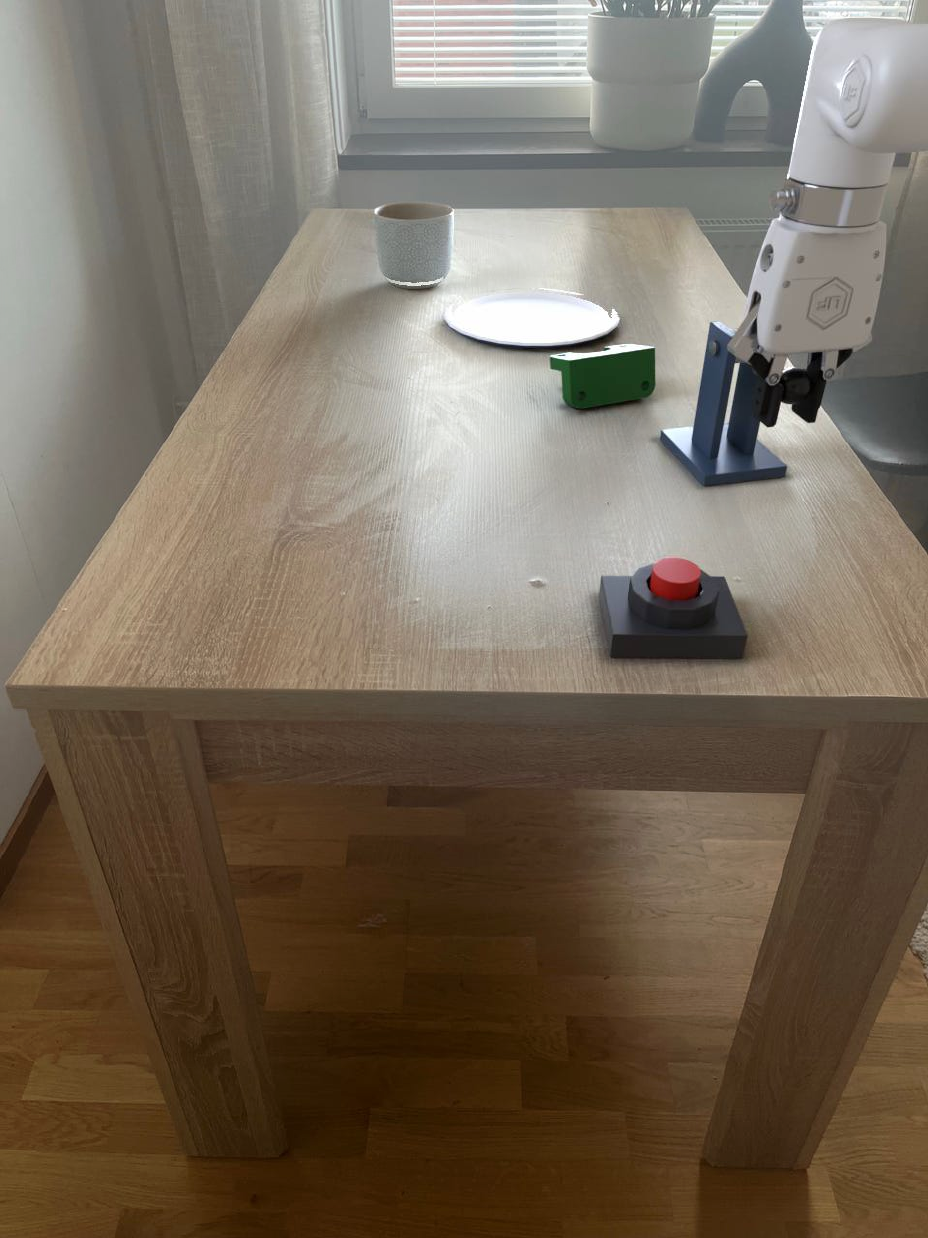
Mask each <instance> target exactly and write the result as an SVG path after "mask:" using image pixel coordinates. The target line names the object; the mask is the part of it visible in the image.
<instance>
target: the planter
mask: <svg viewBox="0 0 928 1238" xmlns="http://www.w3.org/2000/svg"><path fill="white" fill-rule="evenodd" d="M372 224H373V233H374V240H375V241H374V243H375V248H376V255H377V261H378V266H379V270H380V272H381V274H382V276H383V275H384V276H385V277H387V278H389V279H391V280H395V281H400V282H411V283H417V282H418V283H419V282H429V281H435V280H437V279H440V278H442V277H444V276H446V275H447V276H448V274H449V272H450V269H451V265H452V256H453V243H454V229H455V228H454V227H455V210H454V209H453V208H452V207H451V206H449V205H446V204H442V203H437V202H432V201H431V202H430V201H399V202H392V203H387V204H383V205H380V206H377V207H375V208H374V209H373V210H372ZM384 276H383V277H384ZM447 276H446V277H447ZM385 277H384V278H385ZM441 282H442V281H440V282H438V283H434V284H430V285H421V286H407V285H399V284H395V283H391V282H389V283H390V284H391V285H393V286H395V287H398V288H400V289H406V290H422V289H423V290H424V289H428V288H429V289H430V288H433V287H435V286H437V285H438V284H440V283H441Z"/></svg>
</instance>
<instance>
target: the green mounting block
mask: <svg viewBox="0 0 928 1238" xmlns="http://www.w3.org/2000/svg"><path fill="white" fill-rule="evenodd" d="M549 367H550V370H554V371H558V372H561V389H562V390H561V391H562V400H563V402H564V404H565V405H567V406H569V407H572V408H575V409H581V410H582V409H587V408H593V407H600V406H605V405H611V404H616V403H617V404H618V403H621V402H628V401H634V400H639V399H646V398H648V397H650V396H651V395H653V393H654V391H655V389H656V347H655V346H649V345H641V344H635V343H634V344H633V343H627V344H616V345H609V346H604V347H603V351H596V352H583V353H581V352H580V353H579V352H571V351H570V352H563V353H557V354H551V355H550V356H549Z"/></svg>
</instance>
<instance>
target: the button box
mask: <svg viewBox="0 0 928 1238" xmlns="http://www.w3.org/2000/svg"><path fill="white" fill-rule="evenodd" d="M654 564H655V562H652V563H650V564H647V565H644V566H640V567H638V568H637V569H636V571H635V572H634V573H633V575H604V574H603V575H601V576H600V581H599V582H600V583H599V592H598V600H599V605H600V610H601V616H602V622H603V625H604V626H603V627H604V631H605V639H606V643H607V649H608V655H609V657H610V658H626V659H627V658H629V659H630V658H632V659H634V658H637V659H639V658H640V659H641V658H643V659H736V660H737V659H738V660H739V659H743V658H744V653H745V650H746V645H747V641H748V633H747V631H746V628H745V626H744V623H743V620H742V618H741V615H740V613H739V610H738V607H737V604H736V603H735V600H734V597H733V595H732V593H731V590H730V587H729V585H728V582H727V579H726V577H725V576H723V575H722V576H719V575H718V576H717V575H716V576H714V575H713V576H712V575H710V574H708V573H707V572H705V571H704V570H703V569H701V568H699V569H700V571H701V576H700V582H699V587H698V593H697V595H696V596H695V597H694V598H692V599H690V600H687V601H686V600H669V599H665V598H662V597H659V596H657V595H655V594H654V593H653V592H652V591H651V589H650V582H651V575H652V568H653V565H654Z"/></svg>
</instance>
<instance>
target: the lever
mask: <svg viewBox="0 0 928 1238" xmlns="http://www.w3.org/2000/svg"><path fill="white" fill-rule="evenodd" d="M729 329H730V330H732V331H733V332H735V333H736V331H737V330H738V328H729ZM758 344H759V343H758V339H755V340H754V341H753V343H752V348H754V349H755V350H757V351H758V350H759V349H758ZM740 363H745V362H744V361H742V360H741V359H739V358H737V357H736V360H735V364H740ZM803 369H804V368H800V367H795V366H794V367H793V366H792V367H788V368H784V369H783V372H782V375H781V378H780V381H779V383H781V384H782V385H783V386H784V391H783V396H782V400H781V403H783V404H785V405H792V404H797V403H799V402H801V401H803V400H804V399H805V398H806V397H807V396H808V395H809V393H810V390H811V379H810V376H809V375H808V373H807V372H806V371H804V370H803Z"/></svg>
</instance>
